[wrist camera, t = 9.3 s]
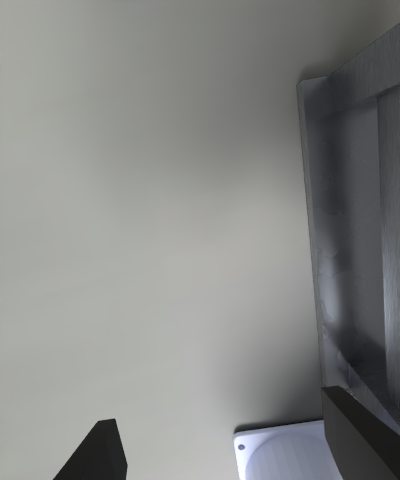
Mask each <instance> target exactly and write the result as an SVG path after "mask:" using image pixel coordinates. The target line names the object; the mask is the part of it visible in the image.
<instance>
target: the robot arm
mask: <svg viewBox="0 0 400 480" xmlns="http://www.w3.org/2000/svg"><path fill="white" fill-rule="evenodd" d="M321 395H322V407H323V419H324V420H320V421H313V422H306V423H299V424H292V425H285V426H278V427H271V428H264V429H257V430H250V431H243V432H237V433H236V434H234V436H233V440H234V446H235V453H236V459H237V465H238V471H239V477H240V480H400V435H399V434H398V433H396V432H395V431H394V430H392V429H391V428H390V427H389V426H387V425H386V424H385V423H384V422H382V421H381V420H380V419H379V418H377V417H376V416H375V415H374V414H372V413H371V412H370V411H369V410H368V409H366V408H365V407H364V406H363V405H362V404H361V403H359V402H358V401H357V400H356V399H355V398H353V397H352V396H351V395H350V394H349V393H348V392H346V391H345V390H344V389H343V388H342V387H340V386H339V385H337V386H330V387H323V388H321ZM240 444H243V445H240ZM127 466H128V465H127V461H126V458H125V454H124V450H123V446H122V443H121V439H120V435H119V431H118V428H117V424H116V420H115V419H108V420H101V421H98V422H97V423H96V424H95V426H94V427H93V428H92V429H91V431H90V432H89V433H88V435H87V436H86V437H85V439H84V440H83V441H82V443H81V444H80V445H79V447H78V448H77V449H76V450H75V452H74V453H73V454H72V456H71V457H70V458H69V460H68V461H67V462H66V464H65V465H64V466H63V467H62V469H61V470H60V471H59V473H58V474H57V475H56V476H55V478H54V479H53V480H126V474H127Z"/></svg>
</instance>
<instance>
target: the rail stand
mask: <svg viewBox="0 0 400 480" xmlns="http://www.w3.org/2000/svg"><path fill="white" fill-rule="evenodd" d="M296 86H297V97H298V109H299V120H300V132H301V143H302V155H303V166H304V178H305V189H306V201H307V212H308V224H309V235H310V247H311V259H312V270H313V282H314V293H315V305H316V316H317V328H318V339H319V351H320V362H321V374H322V382H323V384H324V386H325V387H330V386H337V385H339V386H340V387H342V388H343V389H348V388H350V389H351V391H352V392H353V394H354V395H355V396H356V398H357V399H358V401H359V402H360V403H361V404H362V405H363V406H364V407H365V408H366V409H368V410H369V411H370V412H371V413H372V414H374V415H375V416H376V417H377V418H379V419H380V420H381V421H382V422H384V423H385V424H386V425H387V426H389V427H390V428H391V429H392V430H394V431H395V432H396V433H398V434H399V435H400V23H399V24H397V25H396V26H395V27H393V28H392V29H391V30H389V31H388V32H387V33H385V34H384V35H383V36H381V37H380V38H379V39H377V40H376V41H375V42H373V43H372V44H371V45H369V46H368V47H367V48H365V49H364V50H363V51H361V52H360V53H359V54H357V55H356V56H355V57H353V58H352V59H351V60H349V61H348V62H347V63H345V64H344V65H343V66H341V67H340V68H339V69H337V70H336V71H335V72H333V73H332V74H331V75H329V76H324V77H318V78H313V79H307V80H302V81H301V82H300V83H299V84H298V85H296Z"/></svg>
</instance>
